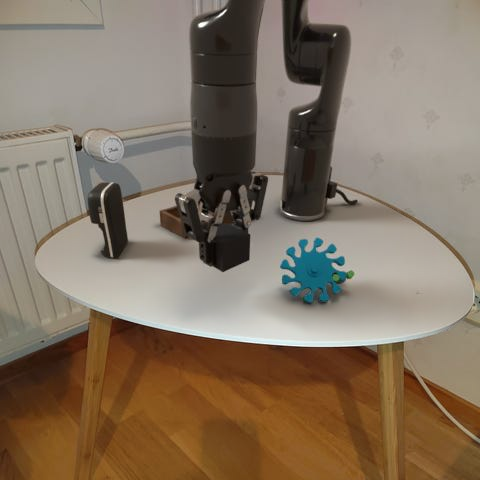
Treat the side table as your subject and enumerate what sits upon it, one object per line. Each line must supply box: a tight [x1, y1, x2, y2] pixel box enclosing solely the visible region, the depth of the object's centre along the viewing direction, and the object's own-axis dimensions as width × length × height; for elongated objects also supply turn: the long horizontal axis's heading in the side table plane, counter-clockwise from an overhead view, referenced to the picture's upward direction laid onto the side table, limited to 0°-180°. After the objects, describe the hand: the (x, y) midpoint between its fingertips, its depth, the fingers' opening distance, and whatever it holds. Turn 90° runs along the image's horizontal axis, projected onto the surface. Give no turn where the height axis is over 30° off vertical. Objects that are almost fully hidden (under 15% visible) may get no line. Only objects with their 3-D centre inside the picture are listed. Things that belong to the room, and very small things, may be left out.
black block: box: [198, 223, 251, 273], centre depth 57 cm, size 5×5×4 cm
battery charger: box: [87, 181, 129, 259], centre depth 71 cm, size 7×4×11 cm, turn 175°
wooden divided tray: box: [159, 200, 234, 240], centre depth 84 cm, size 8×15×3 cm, turn 133°
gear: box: [279, 237, 355, 304], centre depth 64 cm, size 11×6×10 cm
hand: (224, 256), depth 58 cm, fingers closed on black block, 5 cm apart
